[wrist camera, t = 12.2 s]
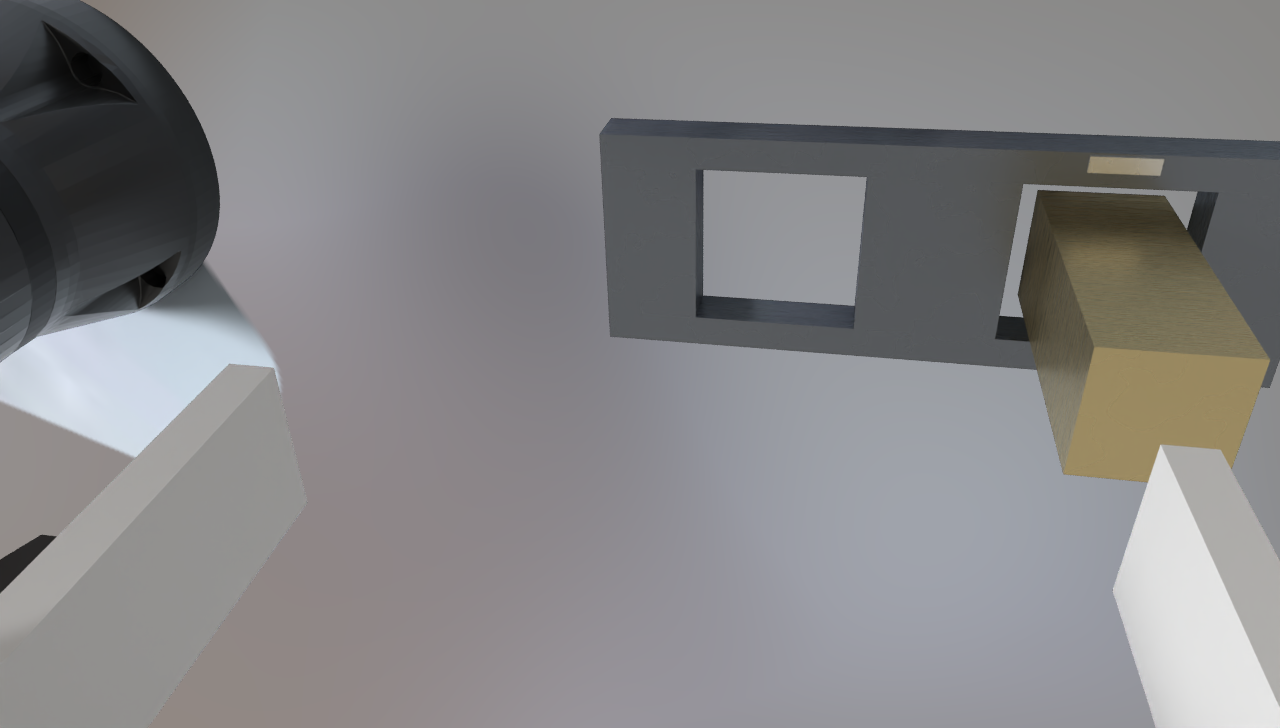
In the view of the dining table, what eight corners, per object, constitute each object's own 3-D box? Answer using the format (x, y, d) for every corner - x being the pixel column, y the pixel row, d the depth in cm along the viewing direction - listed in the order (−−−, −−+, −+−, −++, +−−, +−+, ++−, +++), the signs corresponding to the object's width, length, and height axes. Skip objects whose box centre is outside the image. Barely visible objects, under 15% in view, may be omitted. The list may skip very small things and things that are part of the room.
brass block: (1017, 294, 40) (1063, 474, 30) (1037, 190, 38) (1094, 346, 28) (1136, 302, 39) (1224, 489, 29) (1164, 195, 37) (1270, 359, 27)
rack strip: (620, 314, 44) (609, 337, 43) (611, 118, 40) (598, 135, 38) (1253, 361, 39) (1270, 389, 38) (1328, 142, 35) (1351, 163, 33)
